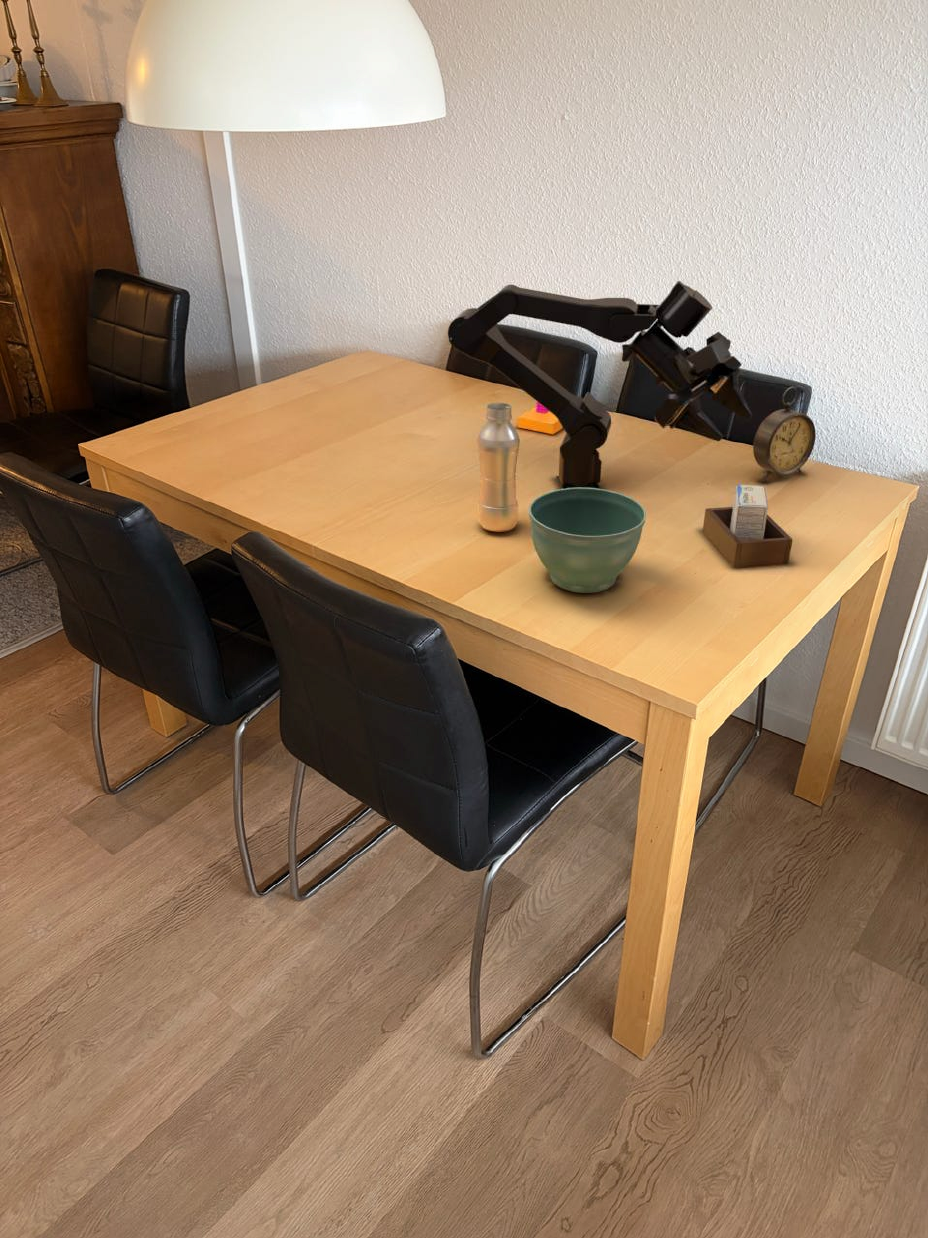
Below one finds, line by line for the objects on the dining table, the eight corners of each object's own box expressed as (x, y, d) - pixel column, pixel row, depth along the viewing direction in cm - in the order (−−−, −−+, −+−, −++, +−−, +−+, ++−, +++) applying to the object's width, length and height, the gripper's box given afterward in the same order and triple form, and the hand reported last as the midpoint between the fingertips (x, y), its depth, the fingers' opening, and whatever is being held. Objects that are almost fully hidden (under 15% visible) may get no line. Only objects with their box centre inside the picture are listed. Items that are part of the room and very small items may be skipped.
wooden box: (733, 567, 144) (736, 543, 142) (702, 531, 155) (705, 508, 153) (788, 563, 145) (792, 539, 143) (753, 527, 156) (757, 504, 154)
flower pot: (663, 586, 139) (670, 516, 134) (573, 618, 132) (577, 545, 126) (590, 544, 151) (595, 479, 145) (505, 571, 143) (506, 503, 138)
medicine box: (760, 559, 146) (769, 506, 142) (729, 557, 147) (737, 504, 142) (757, 537, 153) (765, 485, 148) (728, 534, 153) (735, 483, 149)
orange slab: (571, 422, 198) (572, 402, 196) (552, 434, 193) (553, 413, 190) (536, 416, 202) (537, 396, 200) (517, 427, 196) (518, 406, 194)
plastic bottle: (506, 540, 152) (508, 416, 142) (469, 530, 155) (468, 408, 145) (526, 525, 157) (529, 404, 147) (489, 516, 160) (490, 396, 150)
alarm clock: (763, 486, 170) (778, 395, 162) (742, 476, 174) (755, 387, 166) (810, 475, 174) (827, 386, 166) (789, 465, 178) (804, 377, 170)
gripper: (661, 342, 144) (736, 416, 142) (724, 304, 155) (795, 373, 153) (624, 393, 153) (694, 463, 151) (687, 354, 164) (753, 419, 161)
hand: (736, 428), depth 154 cm, fingers open, 9 cm apart
